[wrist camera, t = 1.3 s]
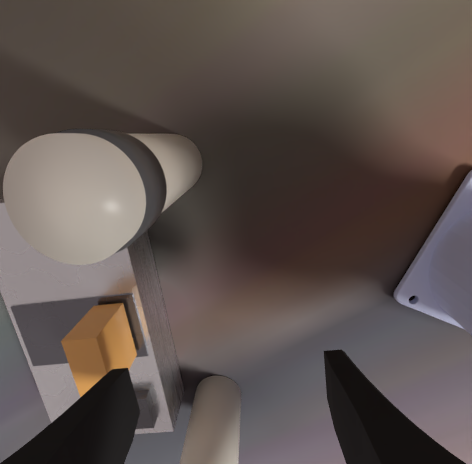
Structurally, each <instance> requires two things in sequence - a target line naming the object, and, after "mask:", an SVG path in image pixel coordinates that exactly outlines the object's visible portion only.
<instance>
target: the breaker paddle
mask: <svg viewBox="0 0 472 464" xmlns="http://www.w3.org/2000/svg"><path fill="white" fill-rule="evenodd" d="M61 343H62V346H63V349H64V351H65V354H66V357H67V360H68V363H69V366H70V369H71V372H72V375H73V378H74V380H75V383H76V386H77V389H78V392H79V395H80V397H82V396H83V395H84V394H85V393H86V392H87V391H88V390H89V389H90V388H91V387H92V386H94V385H95V384H96V383H97V382H98V381H99V380H100V379H101V378H102V377H104V376H105V375H106V374H107V373H108V372H109V371H111V370H112V369H120V368H128V370H129V369H130V367H131V365H132V363H133V361H134V360H135V358H136V356H137V353H136V349H135V345H134V341H133V338H132V334H131V330H130V327H129V323H128V319H127V316H126V312H125V308H124V305H123V303H116V304H107V305H97V306H93V307H92V308H91V309H90V310H89V311H88V313H87V314H86V315H85V316H84V317H83V318H82V319H81V320H80V321H79V322H78V323H77V324H76V325H75V327H74V328H73V329H72V330H71V331H70V332H69V333H68V334H67V335H66V336H65V337H64V338H63V340H62V341H61Z"/></svg>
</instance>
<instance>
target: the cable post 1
mask: <svg viewBox="0 0 472 464" xmlns="http://www.w3.org/2000/svg"><path fill="white" fill-rule="evenodd" d="M201 172H202V157H201V154H200V152H199V150H198V148H197V147H196V145H195V144H194V143H193V142H192V141H191V140H189V139H188V138H186V137H184V136H182V135H179V134H127V133H124V132H121V131H115V130H99V129H68V130H64V131H60V132H57V133H54V134H46V135H42V136H38V137H36V138H33V139H31V140H30V141H28V142H26V143H25V144H24V145H22V146H21V147H20V148H19V149H18V150H17V151H16V152H15V153H14V155H13V156H12V158H11V159H10V161H9V163H8V166H7V168H6V171H5V175H4V181H3V196H4V202H5V206H6V210H7V213H8V215H9V217H10V220H11V221H12V223H13V225H14V227H15V228H16V230H17V231H18V233H19V234H20V235H21V236H22V237H23V239H24V240H25V241H26V242H27V243H28V244H29V245H31V246H32V247H33V248H34V249H36V250H37V251H38V252H40V253H41V254H43V255H45V256H47V257H49V258H51V259H53V260H56V261H59V262H62V263H67V264H74V265H86V264H92V263H96V262H99V261H102V260H104V259H106V258H108V257H110V256H111V255H113V254H114V253H117V252H119V251H121V250H123V249H125V248H127V247H128V246H130V245H131V244H132V243H133V242H134V241H135V240H136V239H137V238H139V237H140V236H141V235H142V234H143V233H144V232H145V231H146V230H147V229H149V228H150V227H151V226H152V225H153V224H154V223H155V222H156V220H157V219H158V218H159V216H160V215H161V213H162V212H163V211H164V210H166V209H167V208H168V207H169V206H170V205H171V204H172V203H174V202H175V201H176V200H177V199H178V198H179V197H181V196H182V195H183V194H184V193H185V192H186V191H188V190H189V189H190V188H191V187H192V186H193V185H194V184H195V183H196V182H197V181H198V179H199V177H200V175H201Z"/></svg>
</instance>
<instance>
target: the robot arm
mask: <svg viewBox="0 0 472 464" xmlns="http://www.w3.org/2000/svg"><path fill="white" fill-rule="evenodd" d="M411 296H415V298H414V299H413V300H411V301H409V298H410V297H411ZM394 298H395V299H396V300H397V302H399V303H400V304H403V305H405V306H408V307H410V308H413V309H415V310H418V311H420V312H423V313H425V314H428V315H430V316H433V317H435V318H438V319H440V320H443V321H445V322H448V323H450V324H453V325H455V326H458V327H460V328H463V329H465V330H466V331H467V332H468V333H469V334H471V335H472V170H471V171H470V172H469V173H468V174H467V176H466V177H465V179H464V181H463V182H462V184H461V185H460V187H459V189H458V190H457V192H456V193H455V195H454V197H453V198H452V200H451V201H450V203H449V205H448V206H447V208H446V209H445V211H444V213H443V214H442V216H441V217H440V219H439V221H438V222H437V224H436V225H435V227H434V229H433V230H432V232H431V233H430V235H429V237H428V238H427V240H426V241H425V243H424V245H423V246H422V248H421V249H420V251H419V253H418V254H417V256H416V257H415V259H414V261H413V262H412V264H411V265H410V267H409V269H408V270H407V272H406V273H405V275H404V277H403V278H402V280H401V281H400V283H399V285H398V286H397V288H396V289H395V291H394ZM324 361H325V374H326V388H327V399H328V403H329V408H330V412H331V416H332V420H333V425H334V429H335V432H336V434H337V437H338V440H339V443H340V446H341V449H342V452H343V455H344V458H345V461H346V464H466V463H464V462H463V461H461V460H460V459H459V458H457V457H456V456H454V455H453V454H451V453H450V452H449V451H447V450H446V449H445V448H444V447H442V446H441V445H440V444H438V443H437V442H436V441H434V440H433V439H432V438H431V437H429V436H428V435H427V434H426V433H425V432H423V431H422V430H421V429H420V428H418V427H417V426H416V425H415V424H414V423H413V422H411V421H410V420H409V419H408V418H407V417H406V416H405V415H404V414H403V413H401V412H400V411H399V410H398V409H397V408H396V407H395V406H394V405H393V404H392V403H391V402H390V401H389V400H388V399H387V398H386V397H385V396H384V395H383V394H382V393H381V392H380V391H379V390H378V389H377V388H376V387H375V386H374V385H373V384H372V383H371V382H370V381H369V380H368V379H367V378H366V377H365V376H364V374H363V373H362V372H361V371H360V370H359V369H358V368H357V367H356V365H355V364H354V363H353V362H352V361H351V359H350V358H349V357H348V356H347V355H346V353H345V352H344V351H342V350H332V351H324ZM139 415H140V409H139V405H138V402H137V398H136V395H135V391H134V388H133V384H132V381H131V377H130V374H129V370H128V368H120V369H112V370H111V371H109V372H108V373H107V374H106V375H105V376H104V377H102V378H101V379H100V380H99V381H98V382H97V383H96V384H95V385H94V386H92V387H91V388H90V389H89V390H88V391H87V392H86V393H85V394H84V395H83V396H82V397H80V398H79V399H78V400H77V401H76V402H75V403H74V404H73V405H72V406H70V407H69V408H68V409H67V410H66V411H65V412H64V413H63V414H61V415H60V416H59V417H58V418H57V419H56V420H54V421H53V422H52V423H51V424H50V425H48V426H47V427H46V428H45V429H44V430H43V431H41V432H40V433H39V434H38V435H37V436H35V437H34V438H33V439H32V440H31V441H29V442H28V443H27V444H25V445H24V446H23V447H22V448H20V449H19V450H18V451H16V452H15V453H14V454H12V455H11V456H10V457H8V458H7V459H6V460H4V461H3V462H2V463H0V464H124V462H125V459H126V457H127V454H128V452H129V449H130V446H131V444H132V441H133V437H134V434H135V430H136V427H137V423H138V419H139Z"/></svg>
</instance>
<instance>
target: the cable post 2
mask: <svg viewBox="0 0 472 464" xmlns="http://www.w3.org/2000/svg"><path fill="white" fill-rule="evenodd" d="M240 412H241V390H240V388H239V386H238V385H237V384H236V383H235V382H234V381H233V380H231V379H230V378H227V377H224V376H210V377H207V378H205V379H203V380H202V381H201V382H200V383H199V384H198V386H197V388H196V392H195V397H194V401H193V406H192V410H191V415H190V419H189V424H188V428H187V433H186V437H185V442H184V446H183V451H182V455H181V460H180V464H238V456H239V434H240Z"/></svg>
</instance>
